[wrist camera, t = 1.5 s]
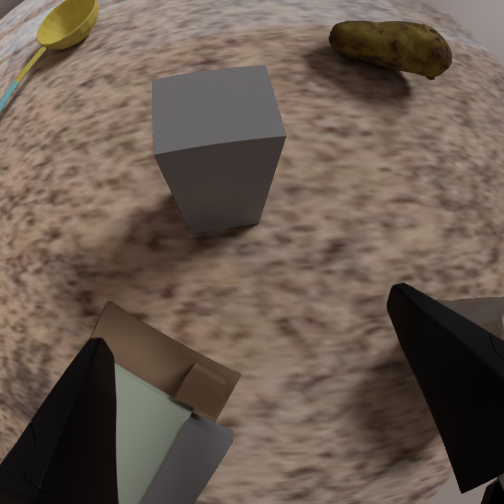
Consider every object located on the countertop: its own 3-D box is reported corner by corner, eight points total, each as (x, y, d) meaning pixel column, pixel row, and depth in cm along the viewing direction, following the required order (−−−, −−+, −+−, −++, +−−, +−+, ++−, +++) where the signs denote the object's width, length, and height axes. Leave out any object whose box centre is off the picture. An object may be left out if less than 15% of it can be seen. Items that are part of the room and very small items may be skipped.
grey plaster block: (480, 387, 21) (549, 400, 12) (459, 414, 21) (527, 436, 11) (433, 298, 23) (514, 287, 13) (408, 326, 22) (490, 327, 13)
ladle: (121, 14, 26) (106, -13, 20) (12, 197, 27) (-20, 191, 21) (79, 10, 26) (63, -12, 20) (-19, 173, 27) (-47, 166, 21)
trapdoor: (175, 520, 14) (172, 534, 13) (68, 461, 15) (57, 471, 13) (236, 424, 16) (236, 435, 15) (110, 356, 17) (99, 361, 15)
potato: (342, 26, 28) (359, -21, 21) (431, 78, 28) (461, 39, 20) (318, 54, 27) (336, -1, 19) (421, 115, 26) (460, 72, 18)
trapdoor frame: (162, 509, 17) (149, 546, 12) (53, 443, 18) (20, 465, 12) (240, 374, 20) (243, 394, 15) (109, 301, 21) (75, 297, 15)
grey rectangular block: (258, 223, 23) (286, 135, 11) (191, 234, 22) (153, 154, 10) (249, 175, 23) (265, 65, 12) (185, 185, 23) (152, 80, 11)
